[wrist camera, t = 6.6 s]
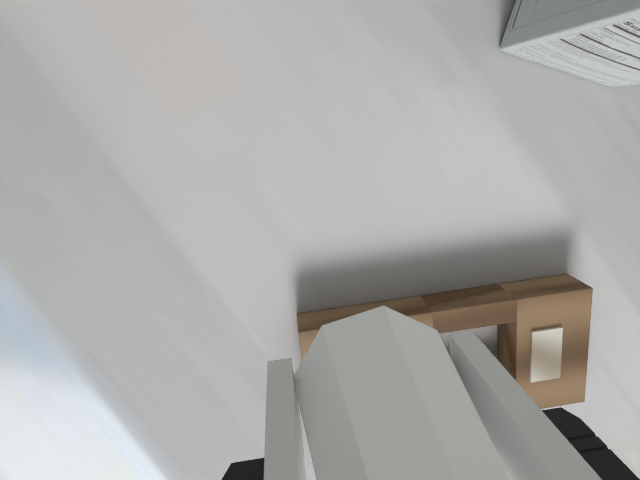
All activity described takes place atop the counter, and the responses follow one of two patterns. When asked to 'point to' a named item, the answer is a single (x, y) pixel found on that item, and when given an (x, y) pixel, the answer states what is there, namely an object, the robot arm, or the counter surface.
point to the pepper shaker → (389, 404)
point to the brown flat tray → (505, 329)
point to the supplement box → (579, 37)
